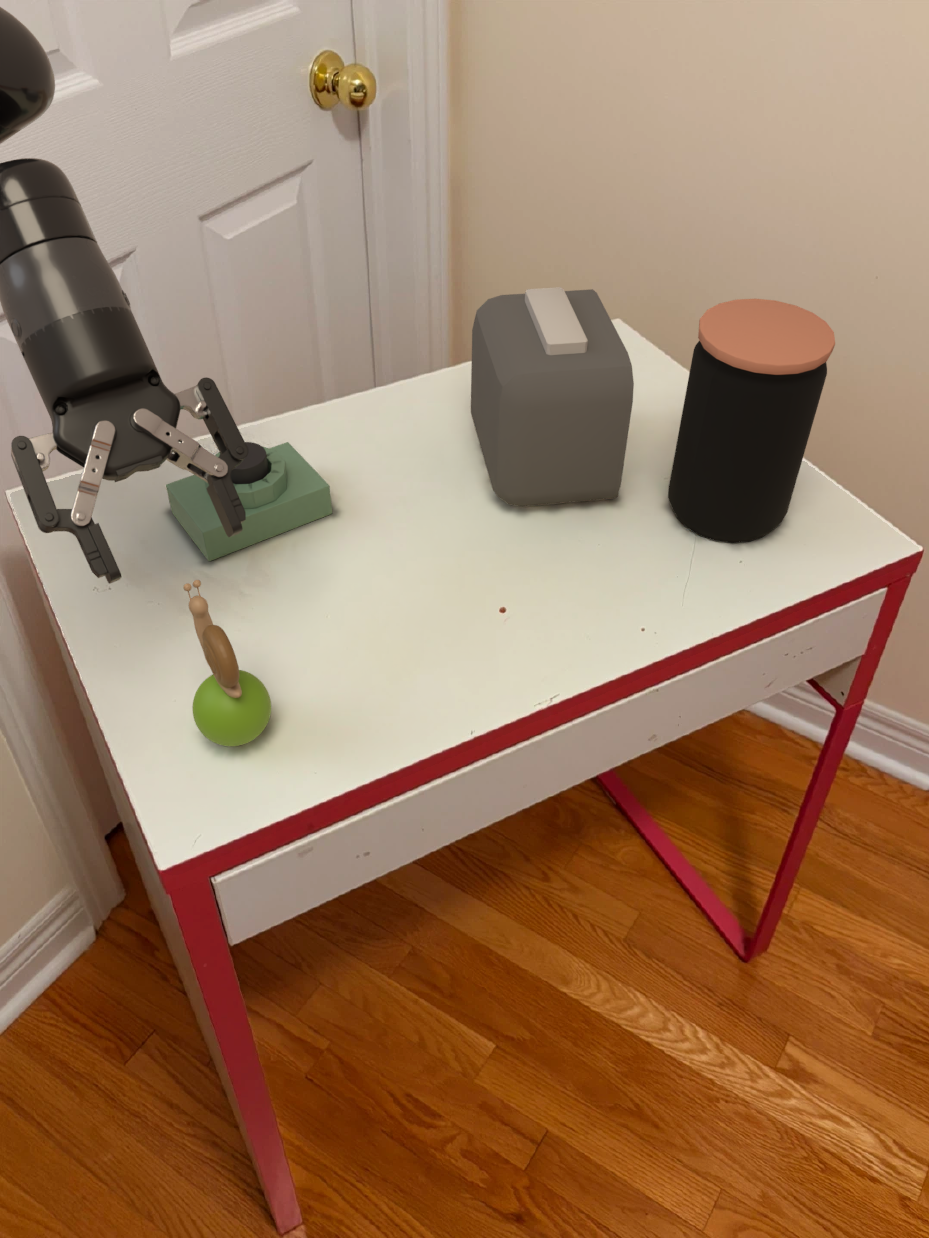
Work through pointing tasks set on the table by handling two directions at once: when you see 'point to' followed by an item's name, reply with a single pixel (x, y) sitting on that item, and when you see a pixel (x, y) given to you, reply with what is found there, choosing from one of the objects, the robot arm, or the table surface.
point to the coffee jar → (747, 417)
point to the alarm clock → (550, 396)
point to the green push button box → (253, 504)
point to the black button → (251, 466)
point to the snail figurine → (225, 686)
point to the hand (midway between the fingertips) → (176, 556)
